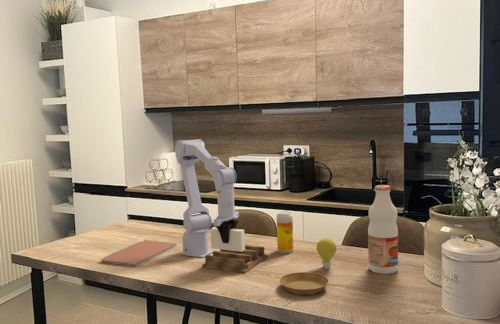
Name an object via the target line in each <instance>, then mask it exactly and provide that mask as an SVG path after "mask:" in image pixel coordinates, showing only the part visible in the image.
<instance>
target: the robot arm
mask: <svg viewBox="0 0 500 324" xmlns="http://www.w3.org/2000/svg"><path fill="white" fill-rule="evenodd" d="M205 146H206V145H205V142H204V141H203V140H202V139H201V138H197V139H185V140H181V139H179V140H177V142H176V143H175V147H174V153H175V157H176V161H177V164H179V165H180V169H181V170H180V171H181V174H182V181H183V185H184V190H185V195H186V198H187V199H186V201H187V204H188V207H187V208H186V209H185V211H184V212H183V228H184V229H185V231H184V232H183V234H182V253H181V255H182V256H187V257H188V256H189V257H195V258H204V257H205V256H206V255H210V254H213V251H214V250H212V249H209V231H210V229H211V227H212V225H213V227H217V229H218V231H219V233H220V236H221V239H222V242H223V243H229V233H230V229H237V226H238V223H239V219H238V218H239V217H240V212H239V211H236V210H235V188H234V186H235V184H236V182H237V179H238V176H237V172H236V170H235V169H234V168H233V167H232V166H231V167H228V166H227V165H225V164H224V163H223V162H222V161H221V160H220V159H219V157H217V156H212V155H211V154H210V153H209V152H208V150H207V149H206V147H205ZM199 160H200V161H201V163H203V164H204V169H205V170H206V171H207V172H208V173H209V174H210V175H211V176H212V179H213V183H214V187H215V191H216V193H217V196H216V198H217V214H218V215H217V217H216V218H214V219H213V217H212V215H211V214H210V209H209V208H208V207H206V206H205V205H203V204H202V198H201V195H200V190H199V189H200V188H199V185H198V178H197V174H196V170H195V164H196V163H197V162H198V161H199Z"/></svg>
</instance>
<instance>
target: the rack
mask: <svg viewBox="0 0 500 324" xmlns="http://www.w3.org/2000/svg"><path fill="white" fill-rule="evenodd" d="M204 257H205V258H204V260H205V261H204V263H203V264H202V265H201V266H202V268H205V269H211V270H212V269H213V270H220V271H228V272H235V273H241V274H246V273H248V272H249V271H250V270H252V269H254V268H255V267H256V266H257V265H259V264H261V263H262V262H263V261H264V260H266V259H268V254H267V253H266V254H265V246H259V245H251V244H250V245H248V244H245V250H244V251H242V252H241V251H232V250H223V249H219V250H213V252H212V255H210V254H208V255H206V256H204Z"/></svg>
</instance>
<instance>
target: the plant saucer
mask: <svg viewBox="0 0 500 324" xmlns="http://www.w3.org/2000/svg"><path fill="white" fill-rule="evenodd" d="M279 283H280V284H281V286H282V287H283V288H284V289H285V290H287V292H289V293H291V294H295V295H303V296H306V295H307V296H308V295H315V294H318V293H320V292H321V291H323V290H324V289H326V287H327V286H328V285H329V283H330V280H329V278H327V276H325V275H323V274H321V273H316V272H307V271H305V272H304V271H299V272H293V273H288V274H284V275H283V276H281V277H280V278H279Z"/></svg>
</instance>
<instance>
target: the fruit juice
mask: <svg viewBox="0 0 500 324" xmlns="http://www.w3.org/2000/svg"><path fill="white" fill-rule="evenodd" d="M391 189H392V188H391V186H390V185H386V184H380V185H379V184H378V185H375V186H374V191H375V197H374V200H373V203H372V204H371V205H370V206H369V208H368V213H367V214H368V218H369V224H368V227H367V237H368V238H367V240H368V241H367V242H368V245H367V247H368V257H367V258H368V269H369V271H371V272H373V273H376V274H379V273H380V275H390V274H391V273H392V274H394V273H397V272H398V271H399V269H398V268H399V229H398V224H397V219H398V209H397V208H396V206H395V205H394V204H393V202H392V199H391V196H390V192H391Z"/></svg>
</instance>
